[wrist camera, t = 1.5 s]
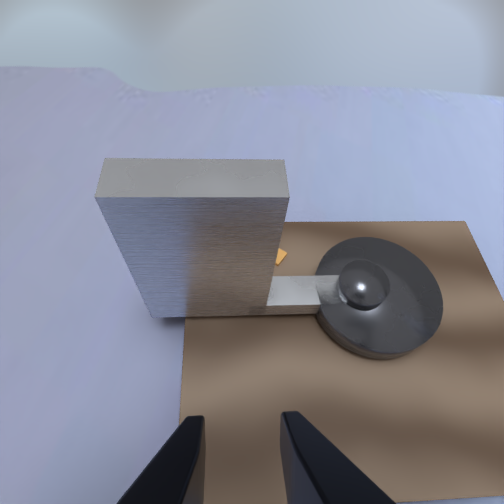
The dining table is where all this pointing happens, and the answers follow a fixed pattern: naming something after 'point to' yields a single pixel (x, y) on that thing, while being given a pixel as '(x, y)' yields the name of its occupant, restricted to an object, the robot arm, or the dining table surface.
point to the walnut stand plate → (357, 380)
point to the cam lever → (257, 254)
